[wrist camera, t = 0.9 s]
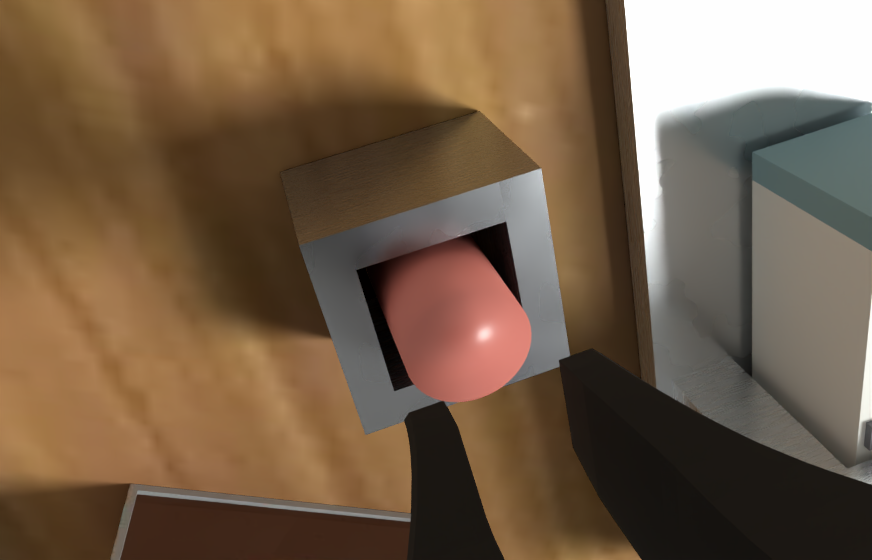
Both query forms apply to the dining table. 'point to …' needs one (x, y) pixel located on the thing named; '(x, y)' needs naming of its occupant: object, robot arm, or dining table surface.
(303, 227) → the plunger collar
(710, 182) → the housing
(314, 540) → the food container
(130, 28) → the dining table surface
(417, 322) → the plunger
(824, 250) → the cartridge
